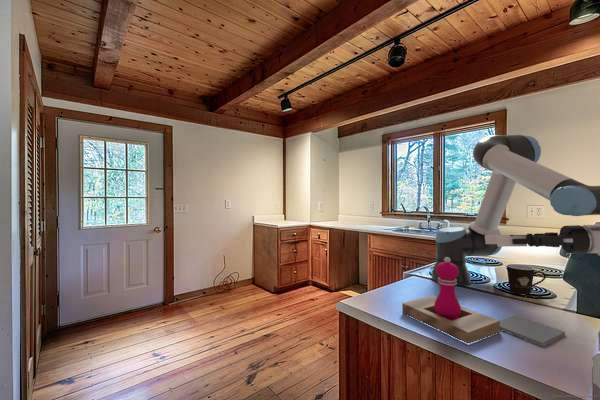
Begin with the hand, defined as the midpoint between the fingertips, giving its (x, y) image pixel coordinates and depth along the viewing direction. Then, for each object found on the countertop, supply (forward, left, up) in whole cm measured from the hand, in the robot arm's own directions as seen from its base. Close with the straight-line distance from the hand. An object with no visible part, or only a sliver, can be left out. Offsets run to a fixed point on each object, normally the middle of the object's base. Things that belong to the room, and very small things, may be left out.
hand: (490, 240), depth 84 cm
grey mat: (+7, +5, -25) cm, 27 cm away
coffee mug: (-9, +38, -25) cm, 46 cm away
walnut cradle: (-7, -10, -25) cm, 28 cm away
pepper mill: (-7, -10, -25) cm, 28 cm away
